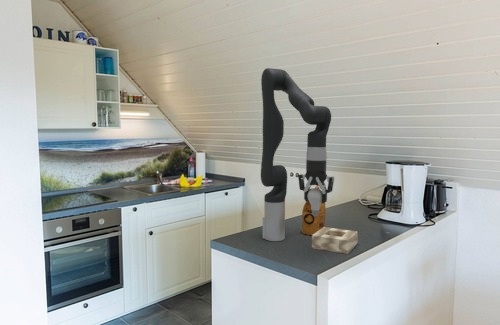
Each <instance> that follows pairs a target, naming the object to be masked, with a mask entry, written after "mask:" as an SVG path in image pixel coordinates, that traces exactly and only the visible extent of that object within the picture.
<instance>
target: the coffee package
mask: <svg viewBox="0 0 500 325" xmlns="http://www.w3.org/2000/svg"><path fill="white" fill-rule="evenodd" d="M314 188H318V189H320V187H319V186H316V185H315V187H314ZM311 189H313V188H311V187H310V189H309V191H310V190H311ZM320 190H321V189H320ZM301 211H302V213H301V216H302V219H301V220H302V223H301V226H302V227H301V232H302V234H303V235H307V236H312V235H313V234H315V233H316V232H317V231H319V230H320V229H322V228H323V227H326V216H327V214H326V213H327V212H326V211H327V210H326V202H325V203H324V204H322V202H321V204H320V209H319V215H317V216H314V215H312V209H311V204H310V202H309V201H308V202H306V201H305V203H304V205H303V207H302V210H301Z"/></svg>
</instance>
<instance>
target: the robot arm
mask: <svg viewBox="0 0 500 325" xmlns="http://www.w3.org/2000/svg"><path fill="white" fill-rule="evenodd" d="M260 80H261V82H260V83H261V84H260V86H261V97H262V154H261V155H262V156H261V165H260V180H261V184H262V185H263V186H264V187H267V188H269V187H273V188H272V189H271V190H270V191H269V192H267V193H266V194H264V199H263V200H264V201H263V202H264V206H263V207H264V208H263V209H264V210H263V211H264V215H263V218H262V239H264V240H266V241H270V242H281V241H284V240H285V238H286V237H285V235H286V233H285V232H286V227H285V226H286V224H285V223H286V196H287V191H288V190H287V189H288V171H287V169H286V167H285V166H284V165H282V164H278V165H277V164H276V165H275V164H274V160H275V159H274V157H275V154H276V151H277V150H278V147H279V146H280V144H281V143H282V140H283V138H284V134H285V132H284V131H285V130H284V127H285V126H284V125H285V123H284V117H283V115H282V113H281V112H280V111H281V110H279V108H278V106H277V104H276V101H275V91H279V92H280V91H281V92H283V93H285V94H287V97H288V98H287V99H288V102H289V103H290V105H291V106H292V107H294V109H296V111H298V112H299V115H300V117H301V118H302V119H303V121H304V122H305V123H306V124H308V125H312V126H314V125H315V129H314V130H312V131H309V132H308V133H307V138H306V139H307V148H306V158H305V159H306V160H305V163H306V164H305V166H306V167H305V174H303V173H301V174H298V176H297V177H298V178H297V179H298V185H299V186H298V187H299V190H300V191H302V192H303V194H304V195H303V196H304V197H303V199H304V201H305V203H306V202H308V201H309V200H308V197H307V195H308V192H309V189H311V187H313V186H315V187H316V186H319V188H320V190H321V191H322V193H323V194H322V204H324V203H325V204H326V202H327V200H328V194H329V193H332V192H333V190H334V182H335V176H330V175H328V174H327V159H328V156H327V154H328V153H327V135H328V132H329V129H330V125H331V121H332V112H331V109H329V107H327V106H325V105H315V101H314V100H313V98H312V97H310V96H309V95H308V94H307V93H306V92H304V91H303V90H302V89H301V88H300V87H299V85H298V84H297V83H296V82H295V80H293V78H292V77H291V76H290V74H289V73H288V72H287V71H286V70H285V69H281V68H273V67H272V68H271V67H268V68H265V69H264V70H263V71H262V73H261V78H260ZM305 180H306V181H307V182H306V184H305ZM326 180H327V182H328V184H327V185H326V183H325V181H326Z"/></svg>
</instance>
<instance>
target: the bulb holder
mask: <svg viewBox="0 0 500 325" xmlns="http://www.w3.org/2000/svg"><path fill="white" fill-rule="evenodd" d="M358 235H359V234H358V231H357V230H349V229H341V228H333V227H328V226H327V227H326V226H325V227H323V228H322V229H320V230H319V231H317V232H316V233H315V234H313V235H311V248H312V249H314V250H321V251H327V252H331V253H337V254H338V253H339V254H345V255H349V254H350V253H351V252H352V250H354V248H355V247H356V246H357V245H358Z"/></svg>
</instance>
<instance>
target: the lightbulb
mask: <svg viewBox="0 0 500 325" xmlns="http://www.w3.org/2000/svg"><path fill="white" fill-rule="evenodd" d="M310 189H311V188H310ZM322 194H323V193H322V190H321V189H318V188H315V187H314V188H313V189H311V190H310V191H309V192H308V195H307V197H308V200H309V202H310V204H311V209H312V215H314V216H317V215H319V209H320V204H321V202H322Z"/></svg>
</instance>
